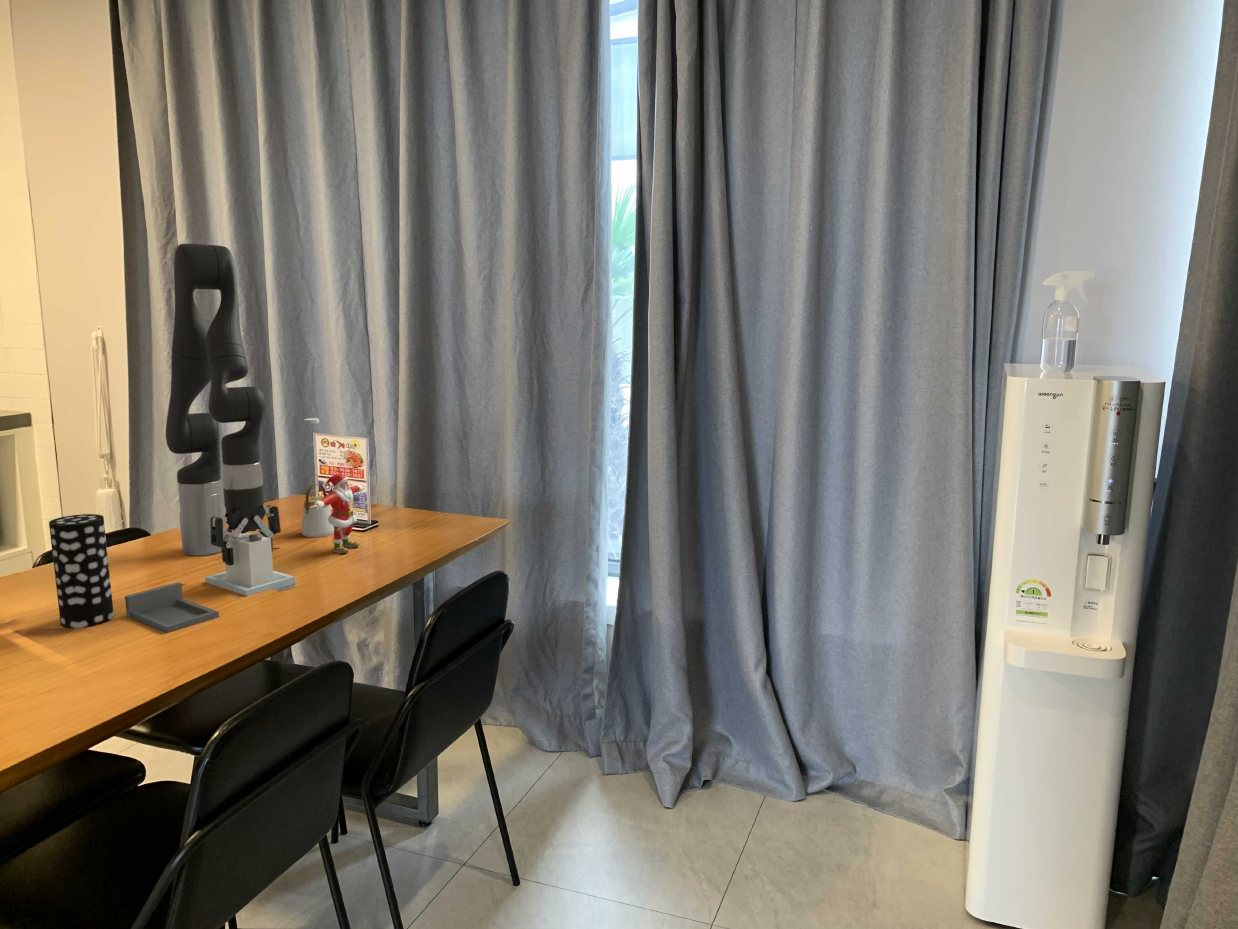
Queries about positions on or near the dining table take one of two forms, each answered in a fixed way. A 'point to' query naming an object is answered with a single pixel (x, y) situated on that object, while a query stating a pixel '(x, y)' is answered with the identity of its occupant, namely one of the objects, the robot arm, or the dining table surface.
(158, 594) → the bay
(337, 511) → the santa figurine
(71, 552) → the white-spotted black cylinder
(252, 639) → the dining table surface
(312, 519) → the white tall stand
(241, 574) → the white block with knob
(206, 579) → the tray
